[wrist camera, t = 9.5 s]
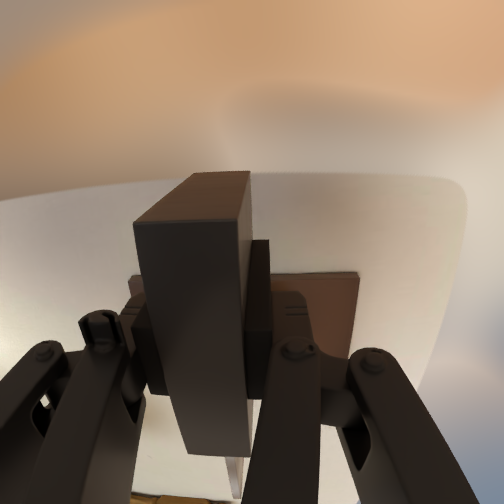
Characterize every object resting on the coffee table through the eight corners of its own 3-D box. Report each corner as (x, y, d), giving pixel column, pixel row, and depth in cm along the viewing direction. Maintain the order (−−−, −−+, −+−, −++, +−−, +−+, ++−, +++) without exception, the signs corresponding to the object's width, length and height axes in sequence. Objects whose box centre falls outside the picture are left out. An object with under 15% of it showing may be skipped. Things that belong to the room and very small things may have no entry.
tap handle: (72, 489, 41) (227, 514, 39) (77, 477, 44) (229, 499, 41) (80, 496, 42) (230, 520, 40) (84, 485, 45) (232, 505, 43)
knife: (193, 172, 13) (131, 222, 7) (250, 170, 13) (237, 218, 7) (224, 439, 20) (214, 524, 14) (258, 440, 20) (255, 526, 14)
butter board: (158, 381, 30) (156, 388, 29) (131, 275, 25) (127, 281, 24) (340, 381, 29) (341, 388, 28) (357, 272, 25) (360, 278, 24)
